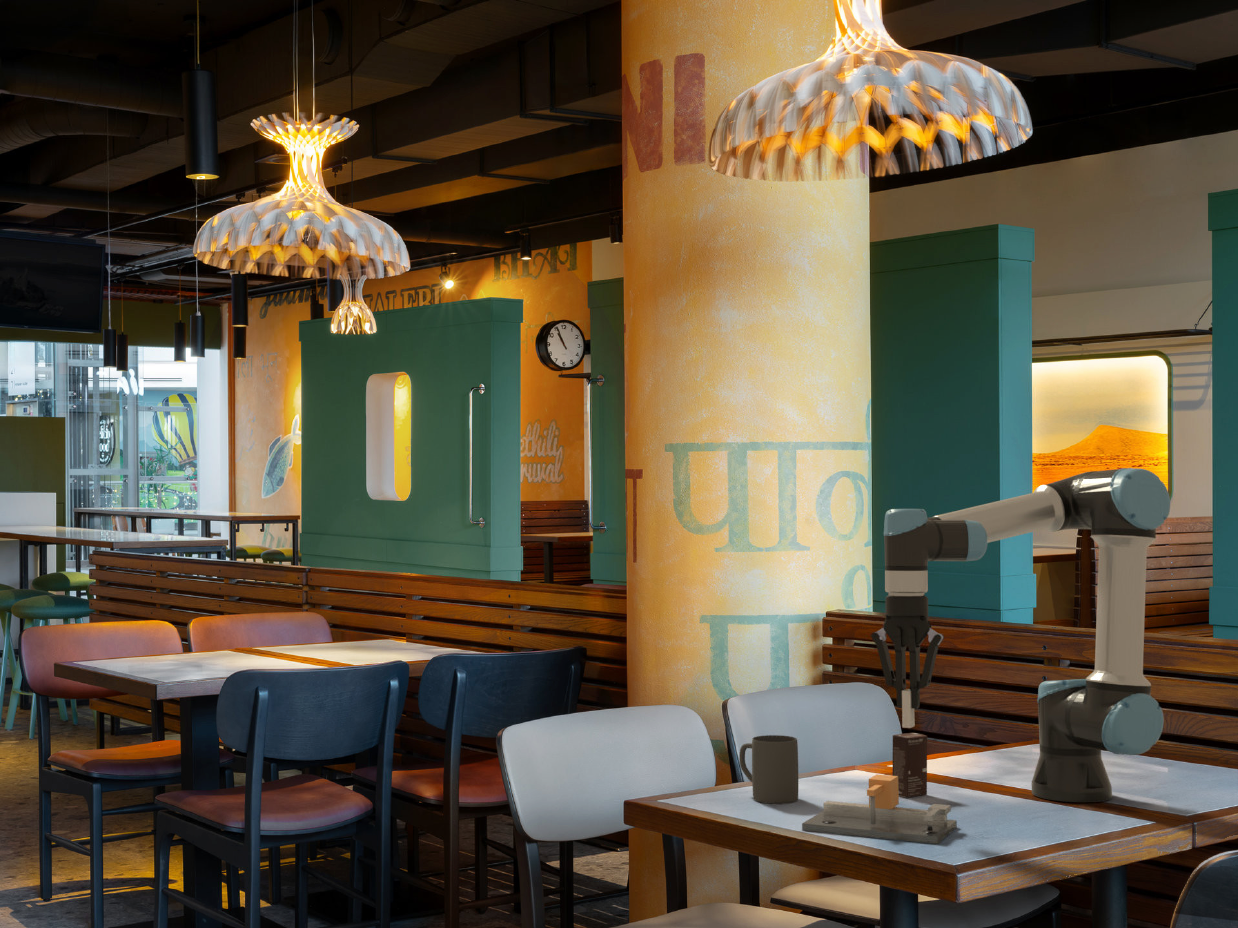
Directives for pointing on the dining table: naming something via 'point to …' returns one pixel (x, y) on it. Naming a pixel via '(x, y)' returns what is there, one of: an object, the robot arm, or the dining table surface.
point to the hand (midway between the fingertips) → (908, 726)
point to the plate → (878, 828)
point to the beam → (891, 813)
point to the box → (910, 764)
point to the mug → (772, 768)
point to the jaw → (882, 793)
